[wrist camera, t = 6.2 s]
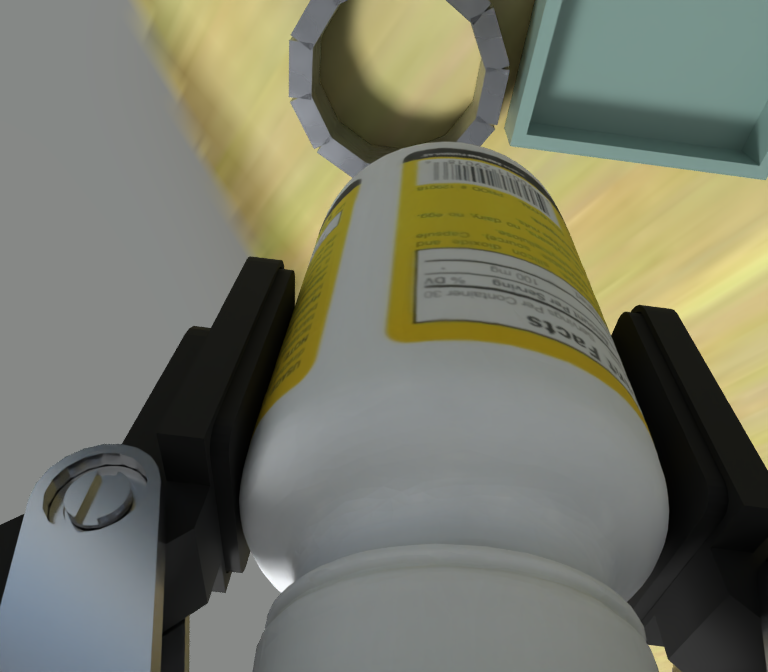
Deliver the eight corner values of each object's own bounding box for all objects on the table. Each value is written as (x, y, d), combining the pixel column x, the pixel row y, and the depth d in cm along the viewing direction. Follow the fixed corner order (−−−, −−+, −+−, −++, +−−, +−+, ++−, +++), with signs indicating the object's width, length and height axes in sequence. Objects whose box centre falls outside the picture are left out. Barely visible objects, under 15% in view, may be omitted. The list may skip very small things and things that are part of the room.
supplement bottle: (383, 373, 15) (324, 880, 7) (277, 195, 12) (-9, 717, 4) (593, 310, 13) (804, 882, 6) (525, 87, 10) (770, 626, 3)
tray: (905, -157, 21) (955, -162, 19) (742, 160, 28) (765, 180, 26) (584, -204, 21) (600, -214, 19) (504, 128, 28) (509, 145, 26)
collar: (524, -35, 24) (532, -28, 22) (476, 177, 30) (480, 198, 28) (301, -66, 24) (290, -62, 22) (297, 154, 30) (288, 173, 28)
